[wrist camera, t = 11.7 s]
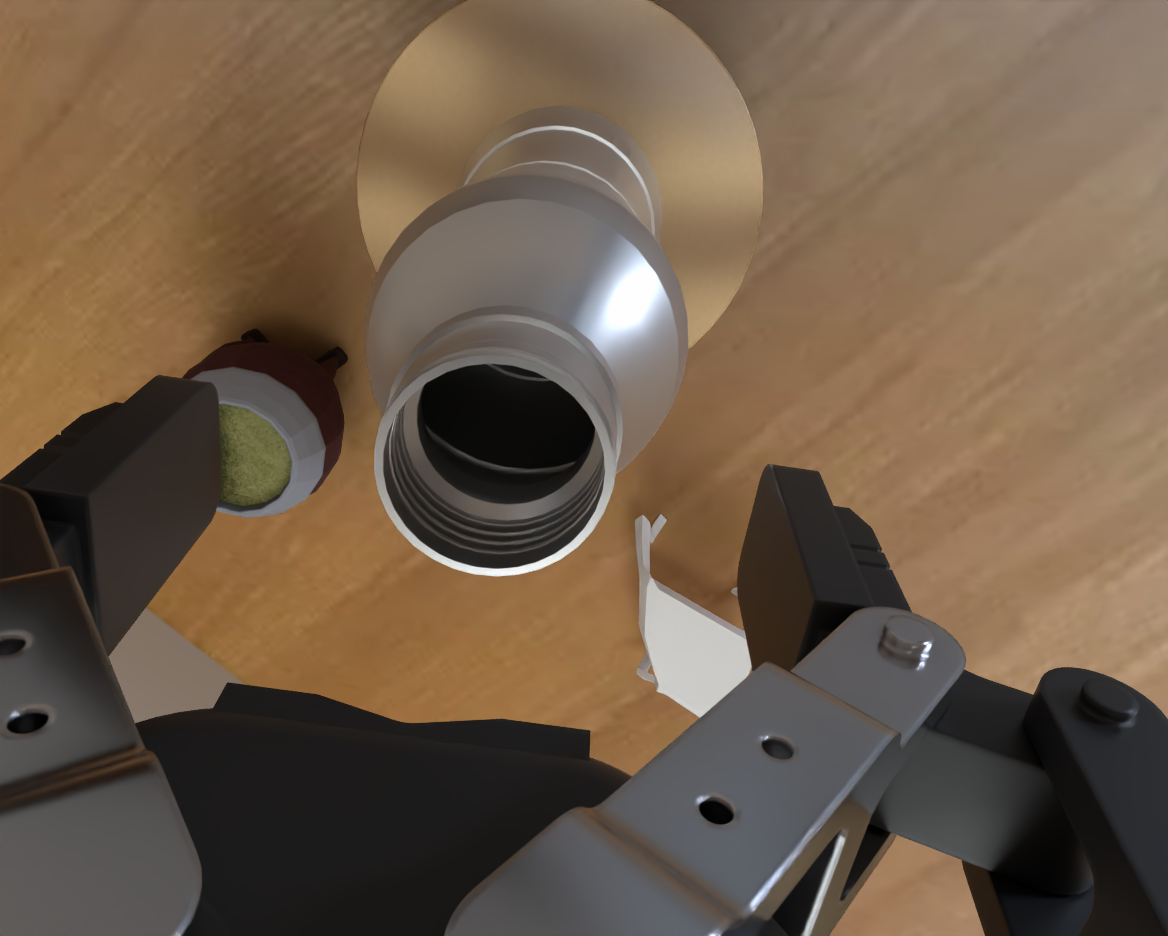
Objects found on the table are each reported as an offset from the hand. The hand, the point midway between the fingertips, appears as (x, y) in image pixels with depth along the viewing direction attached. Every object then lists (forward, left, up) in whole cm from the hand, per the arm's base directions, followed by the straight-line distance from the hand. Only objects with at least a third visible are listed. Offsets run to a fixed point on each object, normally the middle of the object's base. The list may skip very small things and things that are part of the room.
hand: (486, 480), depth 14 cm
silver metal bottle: (0, 0, -20) cm, 20 cm away
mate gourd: (+12, -12, -29) cm, 34 cm away
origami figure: (+20, +9, -29) cm, 37 cm away
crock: (0, 0, -29) cm, 29 cm away
